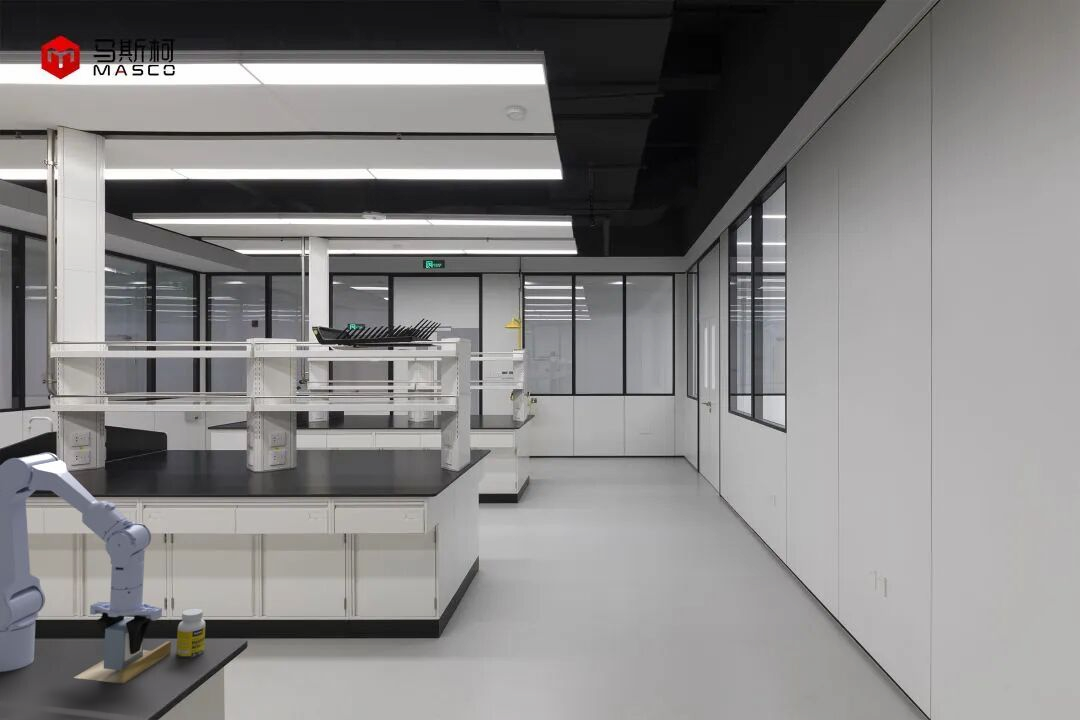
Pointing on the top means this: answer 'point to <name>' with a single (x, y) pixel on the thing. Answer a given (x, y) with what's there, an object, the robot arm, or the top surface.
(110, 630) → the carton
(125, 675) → the shelf board
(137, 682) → the top surface
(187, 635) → the supplement bottle
